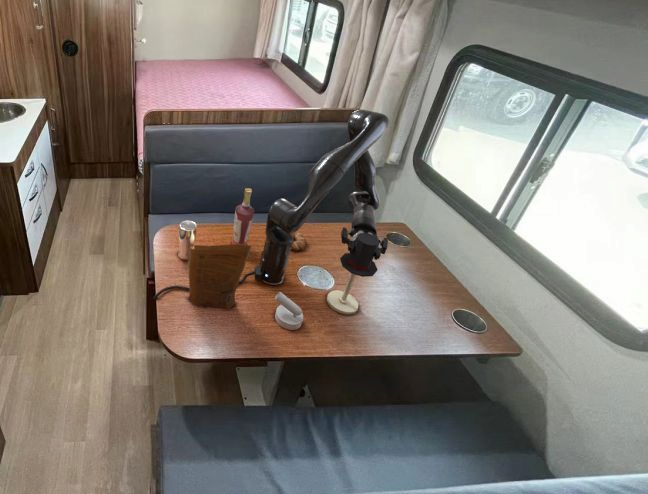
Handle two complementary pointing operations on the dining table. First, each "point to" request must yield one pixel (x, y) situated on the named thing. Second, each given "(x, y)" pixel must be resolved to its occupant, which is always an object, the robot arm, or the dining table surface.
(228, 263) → the pancake mix bag
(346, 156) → the robot arm
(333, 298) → the hat stand
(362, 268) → the hat
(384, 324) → the dining table surface
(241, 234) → the liquor
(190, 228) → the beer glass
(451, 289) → the dining table surface
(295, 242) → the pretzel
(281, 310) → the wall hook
